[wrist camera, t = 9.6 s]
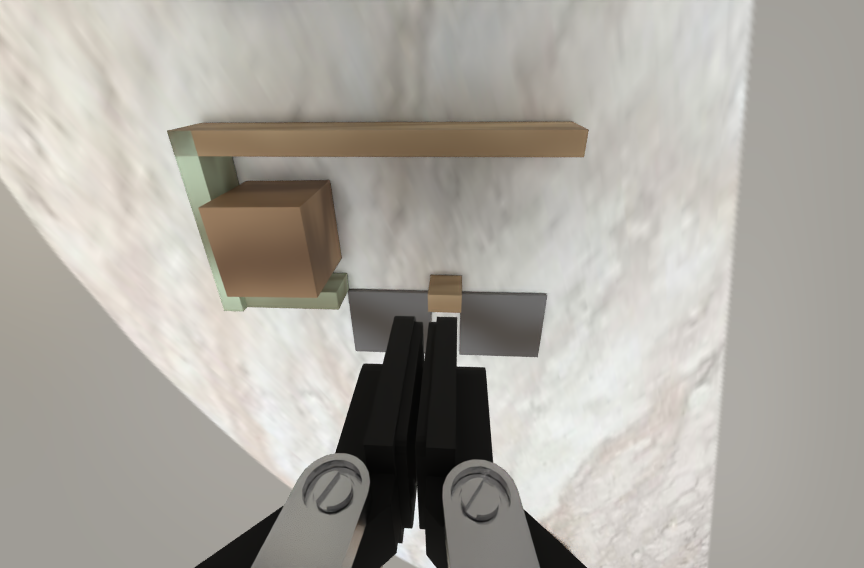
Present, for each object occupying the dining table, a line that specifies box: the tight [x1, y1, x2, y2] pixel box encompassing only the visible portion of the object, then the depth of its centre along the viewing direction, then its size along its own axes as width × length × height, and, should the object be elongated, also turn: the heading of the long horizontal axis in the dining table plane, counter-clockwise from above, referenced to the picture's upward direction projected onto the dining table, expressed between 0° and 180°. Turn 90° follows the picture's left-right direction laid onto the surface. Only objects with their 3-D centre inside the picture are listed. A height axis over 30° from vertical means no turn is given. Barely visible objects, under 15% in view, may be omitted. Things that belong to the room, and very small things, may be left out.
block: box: [198, 180, 342, 298], centre depth 22 cm, size 5×5×5 cm
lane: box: [167, 122, 589, 357], centre depth 23 cm, size 15×20×3 cm
